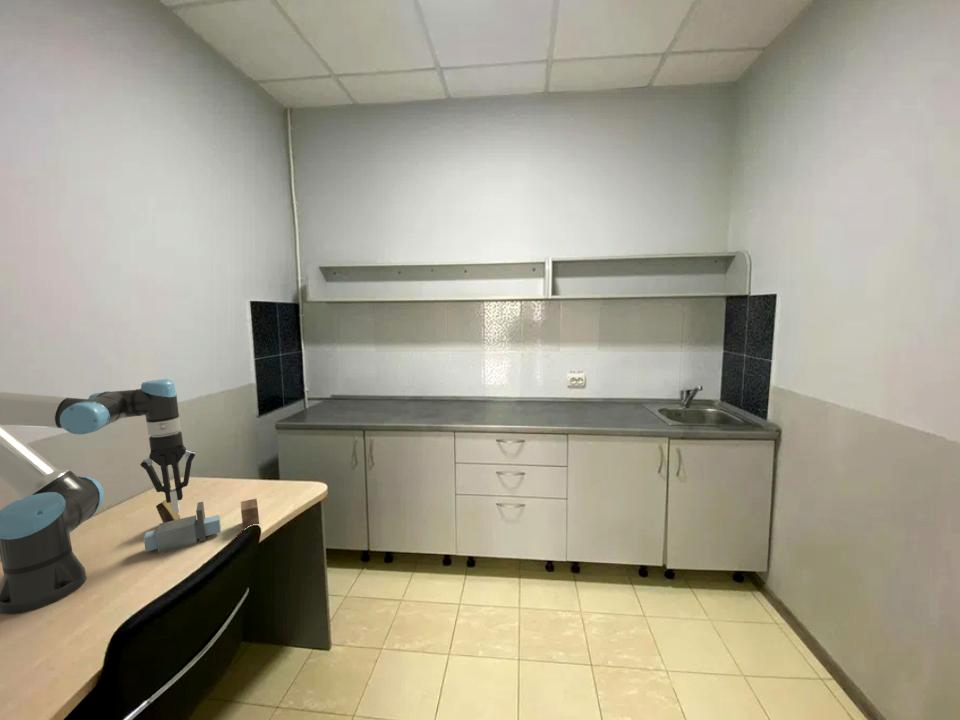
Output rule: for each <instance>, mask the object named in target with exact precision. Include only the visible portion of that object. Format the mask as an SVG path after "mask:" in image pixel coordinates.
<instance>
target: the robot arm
mask: <svg viewBox="0 0 960 720" xmlns="http://www.w3.org/2000/svg"><path fill="white" fill-rule="evenodd" d="M140 386H141V387H140V388H138V389H128V390H115V391H113V390H112V391H102V392H96V393H92V394H91V395H89V396H88V398H77V397H69V396H68V397H67V396H66V397H65V396H56V395H55V396H53V395H43V394H32V393H30V394H29V393H21V392H19V393H18V392H9V391H7V392H6V391H0V480H2V482H4V483H5V485H7V486H9V487H10V488H11V489H13V490H14V492H15V491H16V493H18V494H19V495H20V497H19V499H18V500H15V501H12V502H11V503H9V504H7V505H6V506H3V507H2V508H1V509H0V562H1V566H2V571H3V577H2V580H1V584H0V613H2V614H5V613H7V615H10V614H11V615H12V614H20V613H25V612H29V611H33V610H36V609H39V608H42V607H45V606H47V605H50V604H52V603H55V602H57V601H60V600H61V599H63V598H65V597H67V596H69V595H70V594H72V593H74V592H75V591H76V590H78V589H79V588H81V587H82V585H84V583H85V582H86V580H87V573H86V568H85V566H83V564H82V562H81V561H80V560H79V559H78V557H77V556H76V555H75V553H74V552H73V547H72V541H71V532H73V531H75V529H77V528H78V527H79V526H80V525H81V524H83V523H84V522H85V521H87V520H89V519H90V518H91V517H93V515H94V514H96V512H97V511H98V510H99V509H100V508H101V506H102V505H103V502H104V497H105V492H104V488H103V486H102V485H101V483H100V482H99V481H98V480H96V479H94V478H93V477H90V476H82V475H81V476H79V475H77V474H75V473H73V471H72V470H70V469H58V468H57V467H56V466H55V465H53V464H52V463H50V461H48V460H47V459H46V458H44V457H43V456H42V455H41V454H40V453H38V452H37V451H36V450H35V449H34V448H32V447H31V446H30V445H29V444H27V442H25V441H24V440H23V439H21V438H20V437H19V436H18V435H17V434H16V433H14V432H13V431H12V430H11V429H9V428H8V427H7V426H17V427H18V426H19V427H32V428H34V427H35V428H46V429H47V428H48V429H49V428H50V429H63V430H65V431H66V432H68V433H70V434H73V435H78V436H79V435H86V434H90V433H94V432H97V431H99V430H100V429H102V428H104V427H106V426H108V425H110V424H112V423H114V422H117V421H118V420H121V419H124V418H132V417H143V416H145V421H146V427H147V434H148V436H150V437H148V440H149V447H150V453H149V455H148V457H147V458H145V459H143V460H141V463H140V467H142V468H143V469H144V470H145V471H146V473H147V475H148V477H149V479H150V481H151V483H152V485H153V487H154V490H155V491H156V492H157V493H164V495H165V500H166V502H167V503H169V502H171V505H172V512H173V514H174V513H180V511H181V505H180V501H181V500H183V497H184V495H183V488H185V487H188V485H189V481H190V475H191V468H192V463H193V459H195V456H196V451H190V450H187V448H186V447H185V445H184V441H183V440H184V439H183V433H182V431H181V429H182V425H181V418H180V414H179V406H178V405H179V404H178V394H177V391H176V387H175V382H174V381H173V380H171V379H168V378H165V379H155V380H153V379H152V380H148V381H147V380H146V381H145V382H141V384H140ZM184 455H185V459H186V463H185V467H184V475H183V481H182V478H181V472H180V465H179V463H180V461H181V460H182V458H183V457H184ZM153 462H154V463H155V464H157V465H158V466H160V471H161V477H162V482H161V480H160V478H159V476H158V474H157V472H156V470H155V467H154V466H153ZM169 466H171V468H172V473H173V480H174V487H175V488H172V486H171V480H170V479H171V478H170V472H169ZM162 483H163V484H162Z"/></svg>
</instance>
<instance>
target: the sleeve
mask: <svg viewBox="0 0 960 720" xmlns="http://www.w3.org/2000/svg"><path fill="white" fill-rule="evenodd" d="M196 520H197V514H196V515H190V516H187V517H183V518H180V519H178V520H173V521H169V522H165V523H163V522H162V523H159V524H158V526H157V529H156V530H157V532H156V537H157V544H158V549H157V550H158V555H159V554H163V553H166V552H167V553H168V552H171V551H174V550H175V551H176V550H178V549H182V548H186V547H189V546H190V547H191V546H193V545H194V546H195V545H197V544H198V539H199V538H197V539H196V530H195V521H196Z"/></svg>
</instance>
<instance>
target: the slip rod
mask: <svg viewBox="0 0 960 720" xmlns="http://www.w3.org/2000/svg"><path fill="white" fill-rule="evenodd" d="M204 505H205V504H204V501H200V502H197V503H196V510H195V512H196V519H197V520H196V521H195V530H196V539H197V538H198V539H199V543H200V542H205V541H206V540H207V537H208V536H211V535H212V536H213V535H216V534H219V533H221V526H222V525H221V519H220V518H221V517H220V514H216V515H211V516H209V517H206V515H205V514H206V513H205V507H204ZM156 532H157V529H154V530H149V531H146V532H145V535H144V536H143V537H144V538H143V541H144V542H143V544H144V549H145V552H149V551H153V550H158V544H157V537H156Z"/></svg>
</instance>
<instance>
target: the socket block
mask: <svg viewBox="0 0 960 720" xmlns="http://www.w3.org/2000/svg"><path fill="white" fill-rule="evenodd" d="M240 514H241V522H242V531H243V530H244V529H245V528H247V527H248V526H250V525H253V524H259V525H260V517H259V509H258V499H257V498H256V497H255V498H251V499H248V500H243V501H240Z"/></svg>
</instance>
